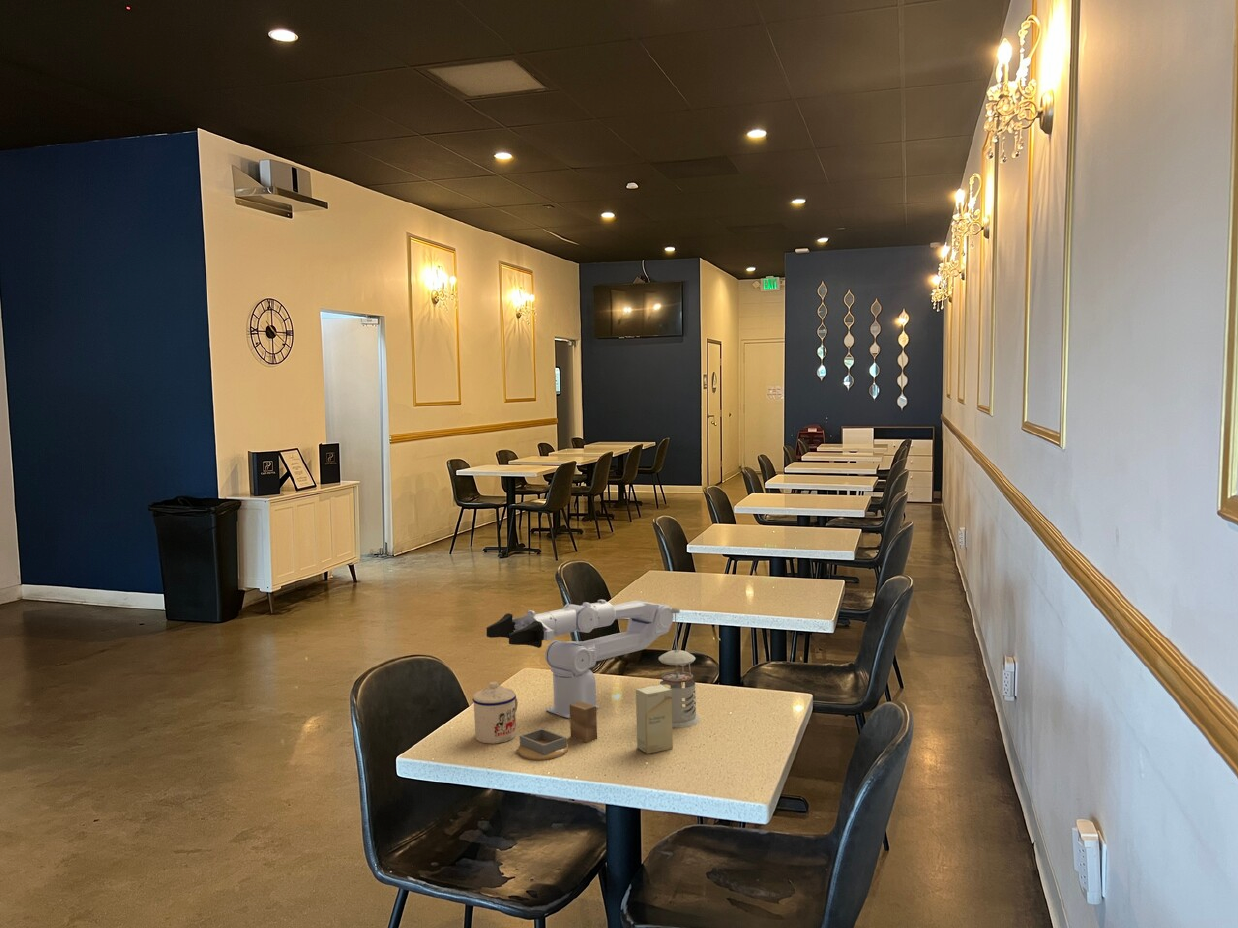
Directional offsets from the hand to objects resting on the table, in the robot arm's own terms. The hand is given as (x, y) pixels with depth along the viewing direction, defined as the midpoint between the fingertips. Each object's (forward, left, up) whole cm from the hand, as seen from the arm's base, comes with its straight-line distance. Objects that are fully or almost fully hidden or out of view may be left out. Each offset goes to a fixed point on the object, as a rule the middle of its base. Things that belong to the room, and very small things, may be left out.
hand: (498, 635), depth 190 cm
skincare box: (-16, +29, -22) cm, 40 cm away
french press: (-32, +21, -22) cm, 44 cm away
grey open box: (0, +13, -21) cm, 25 cm away
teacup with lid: (0, -1, -22) cm, 22 cm away
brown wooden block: (-10, +14, -21) cm, 28 cm away
